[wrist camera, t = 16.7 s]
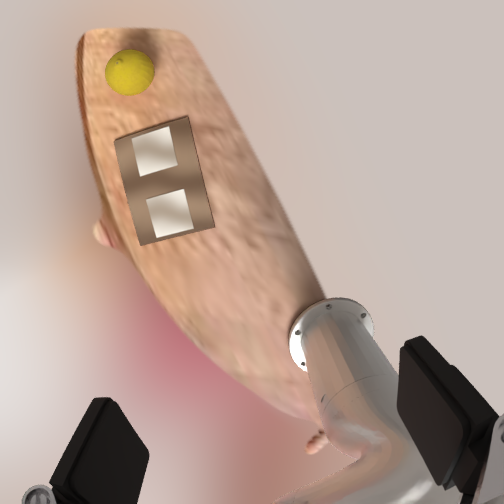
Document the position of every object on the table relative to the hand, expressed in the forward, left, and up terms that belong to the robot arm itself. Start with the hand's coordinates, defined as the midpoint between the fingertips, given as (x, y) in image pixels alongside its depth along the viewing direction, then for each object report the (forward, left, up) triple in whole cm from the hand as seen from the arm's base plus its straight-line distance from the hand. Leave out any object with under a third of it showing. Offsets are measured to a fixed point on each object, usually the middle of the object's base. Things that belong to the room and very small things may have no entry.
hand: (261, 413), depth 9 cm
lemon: (+22, +9, -31) cm, 39 cm away
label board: (+8, +9, -30) cm, 33 cm away
